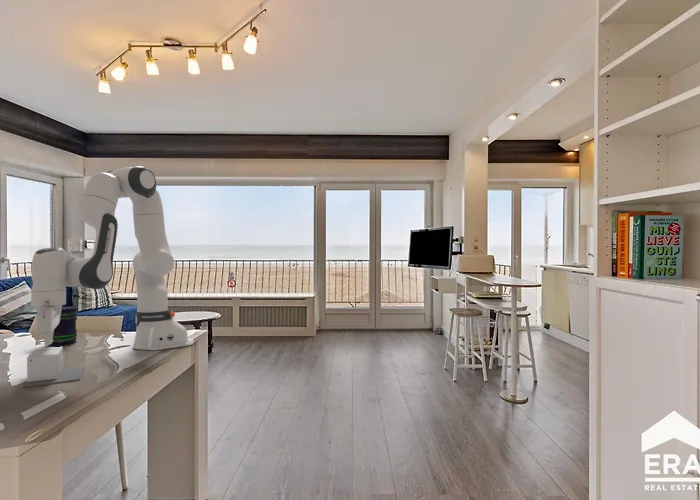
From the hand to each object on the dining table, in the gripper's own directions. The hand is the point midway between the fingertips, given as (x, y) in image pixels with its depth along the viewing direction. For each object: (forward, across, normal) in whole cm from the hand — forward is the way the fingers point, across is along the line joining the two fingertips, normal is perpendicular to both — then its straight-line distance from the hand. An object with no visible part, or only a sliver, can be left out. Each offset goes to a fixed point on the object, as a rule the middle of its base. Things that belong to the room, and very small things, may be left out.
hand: (48, 344), depth 128 cm
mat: (+9, -6, -3) cm, 11 cm away
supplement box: (+5, +3, 0) cm, 6 cm away
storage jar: (+9, +48, +1) cm, 49 cm away
